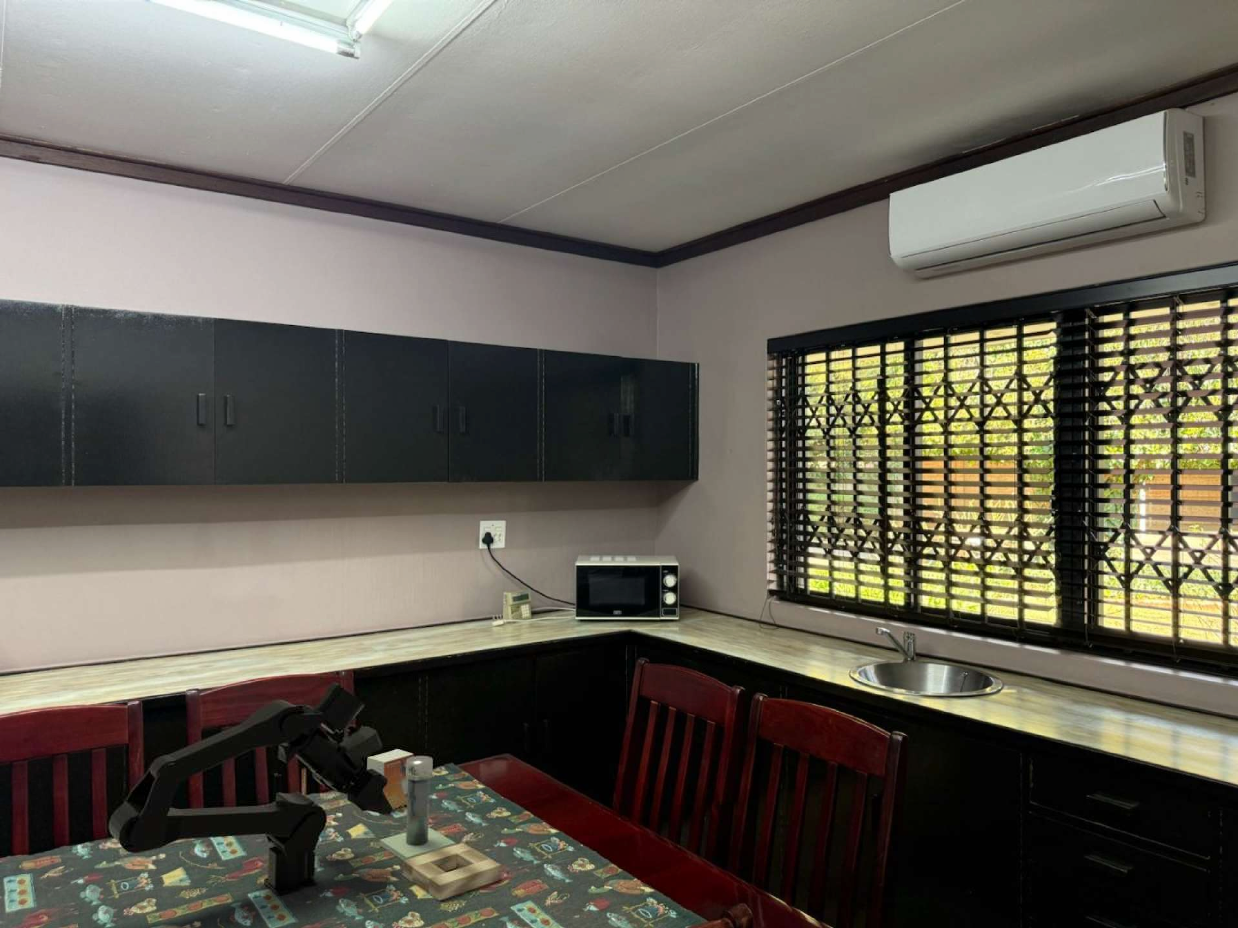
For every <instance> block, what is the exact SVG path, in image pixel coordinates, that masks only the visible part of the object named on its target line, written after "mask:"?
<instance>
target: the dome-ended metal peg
mask: <svg viewBox="0 0 1238 928" xmlns="http://www.w3.org/2000/svg"><path fill="white" fill-rule="evenodd" d="M433 760H434V759H433V758H432V757H431V756H426V755H414V757H410V758H408V759H407V760H406V778H407V779H408V793H407V806H406V829H405V833H406V843H407V844H408V845H412V846H419V845H423V844H426V843H427V842H428V827H429V824H430V822H429V819H430V818H429V817H430V816H429V815H430V792H431V791H430V790H431V789H430V788H431V778H432V777H433V765H434V764H433V763H434V762H433Z"/></svg>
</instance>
